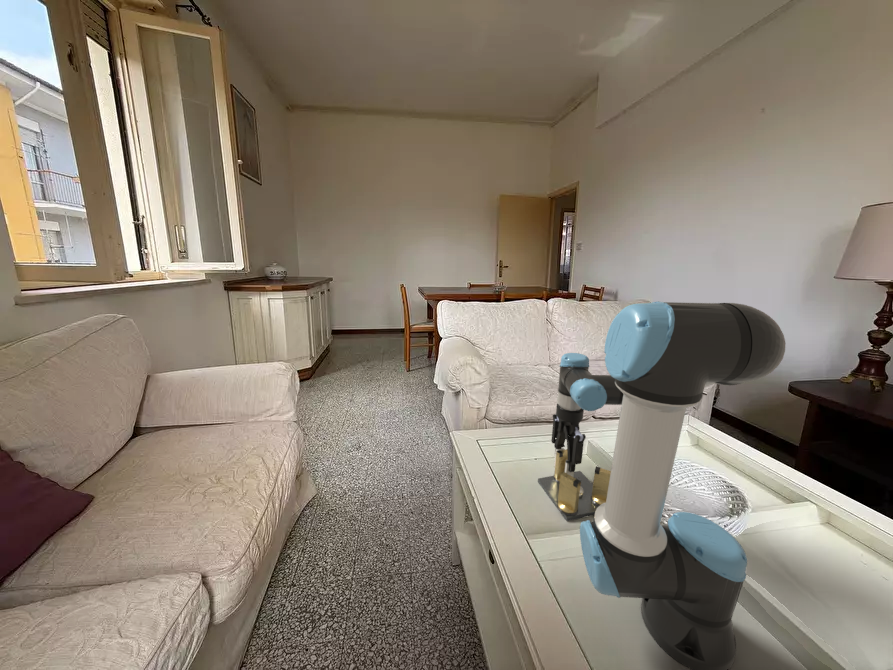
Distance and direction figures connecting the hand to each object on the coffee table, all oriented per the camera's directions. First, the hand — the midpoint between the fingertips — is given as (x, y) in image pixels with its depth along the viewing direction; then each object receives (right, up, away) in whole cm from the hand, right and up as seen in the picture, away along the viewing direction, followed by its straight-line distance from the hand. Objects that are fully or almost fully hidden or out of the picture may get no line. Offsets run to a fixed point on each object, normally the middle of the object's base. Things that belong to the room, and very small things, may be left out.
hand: (563, 472), depth 106 cm
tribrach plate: (+1, -5, -5) cm, 7 cm away
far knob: (0, -2, 0) cm, 2 cm away
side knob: (+8, -4, -9) cm, 12 cm away
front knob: (-3, -5, -11) cm, 12 cm away
